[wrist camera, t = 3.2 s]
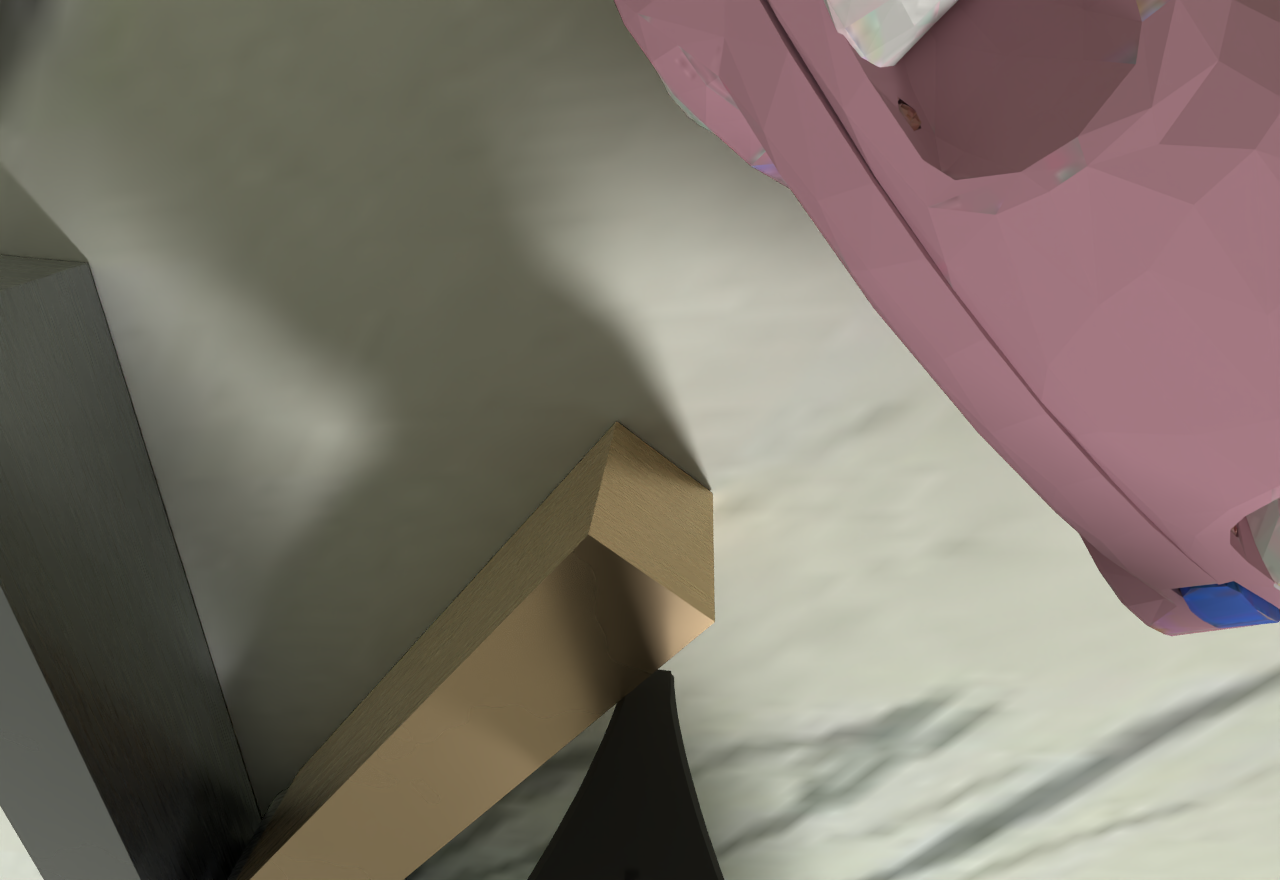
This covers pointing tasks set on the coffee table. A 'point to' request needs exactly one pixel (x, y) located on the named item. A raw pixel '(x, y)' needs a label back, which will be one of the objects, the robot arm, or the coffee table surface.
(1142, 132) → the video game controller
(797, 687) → the coffee table surface
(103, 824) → the grey l-shaped bar
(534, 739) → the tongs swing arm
